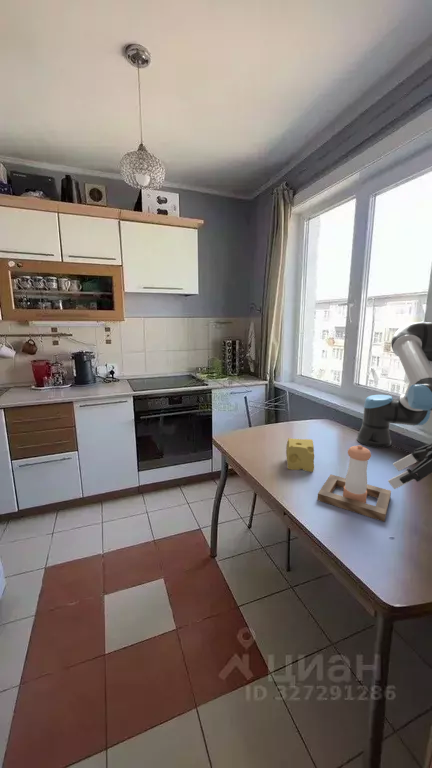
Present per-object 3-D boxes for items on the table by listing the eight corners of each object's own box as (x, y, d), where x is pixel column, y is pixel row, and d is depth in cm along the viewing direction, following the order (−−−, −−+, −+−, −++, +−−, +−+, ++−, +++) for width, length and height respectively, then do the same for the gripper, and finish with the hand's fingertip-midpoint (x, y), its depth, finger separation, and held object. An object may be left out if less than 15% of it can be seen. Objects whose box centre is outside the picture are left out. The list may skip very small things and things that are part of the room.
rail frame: (390, 497, 107) (391, 490, 107) (384, 521, 94) (385, 514, 94) (330, 480, 118) (330, 474, 118) (317, 500, 105) (317, 493, 105)
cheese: (313, 472, 124) (315, 448, 122) (285, 469, 126) (287, 446, 124) (311, 461, 134) (313, 439, 132) (285, 458, 136) (286, 437, 134)
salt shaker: (364, 507, 102) (371, 452, 98) (340, 500, 105) (346, 446, 101) (367, 497, 108) (373, 444, 104) (344, 490, 111) (350, 439, 107)
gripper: (477, 469, 76) (398, 504, 87) (468, 438, 96) (405, 470, 107) (454, 443, 78) (379, 481, 89) (450, 418, 98) (389, 451, 109)
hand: (393, 475), depth 98 cm, fingers open, 13 cm apart
